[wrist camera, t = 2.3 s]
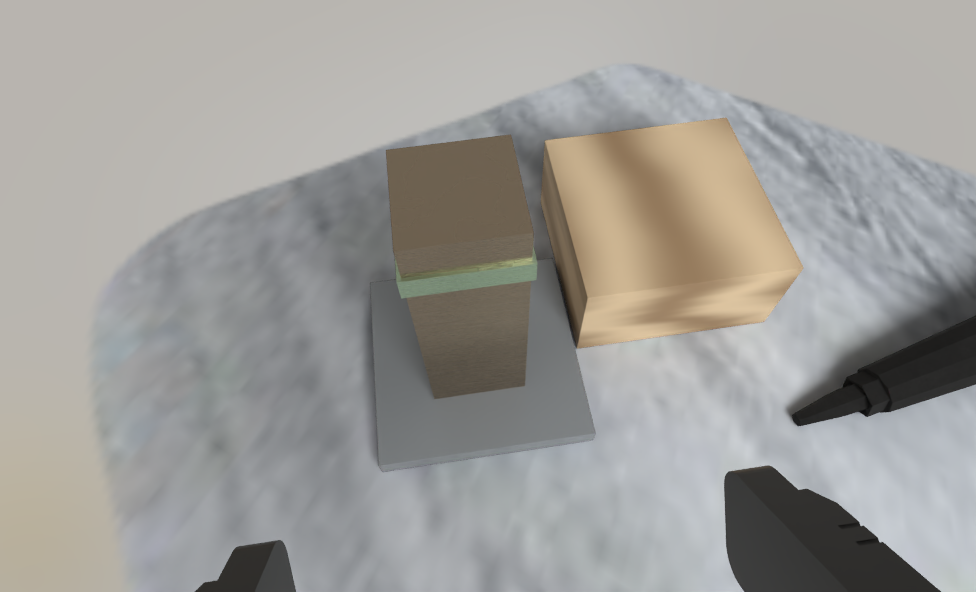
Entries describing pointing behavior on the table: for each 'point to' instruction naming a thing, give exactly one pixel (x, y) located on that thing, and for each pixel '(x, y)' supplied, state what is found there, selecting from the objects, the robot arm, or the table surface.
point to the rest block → (662, 232)
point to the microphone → (903, 377)
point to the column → (464, 260)
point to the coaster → (480, 416)
